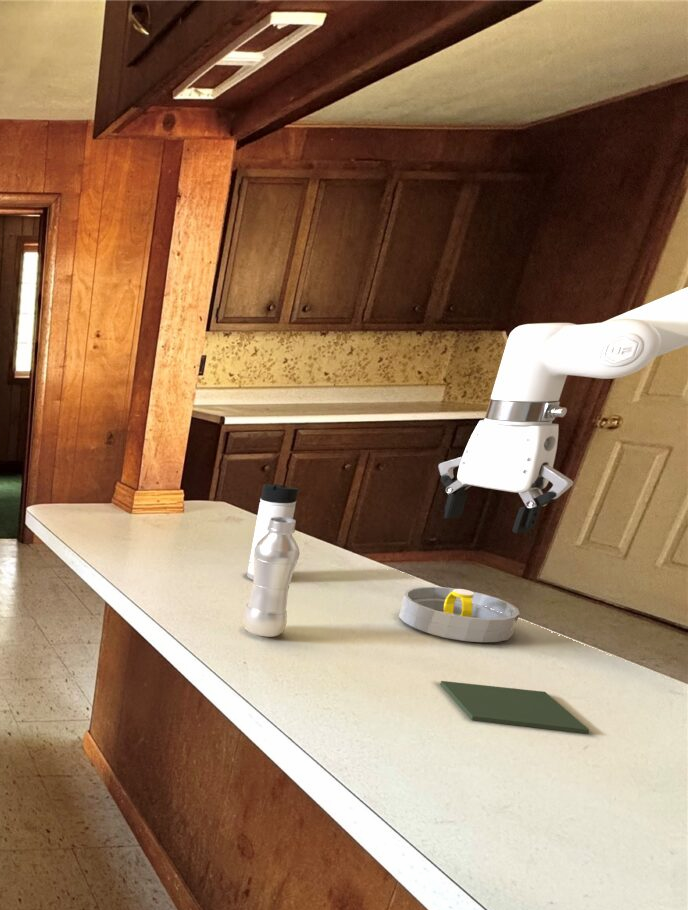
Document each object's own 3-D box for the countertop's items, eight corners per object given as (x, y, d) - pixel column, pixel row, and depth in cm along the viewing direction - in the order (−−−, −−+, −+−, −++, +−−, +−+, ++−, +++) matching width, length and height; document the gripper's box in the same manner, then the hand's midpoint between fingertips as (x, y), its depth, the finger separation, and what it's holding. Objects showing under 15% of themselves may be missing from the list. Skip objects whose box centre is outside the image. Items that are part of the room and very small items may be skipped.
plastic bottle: (261, 643, 109) (283, 527, 102) (231, 628, 116) (250, 517, 108) (292, 638, 111) (317, 523, 104) (261, 623, 117) (282, 513, 110)
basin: (484, 614, 118) (492, 590, 116) (529, 649, 104) (539, 623, 103) (385, 606, 122) (391, 583, 121) (416, 639, 109) (424, 614, 107)
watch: (435, 616, 116) (444, 584, 114) (453, 617, 115) (463, 585, 113) (451, 630, 111) (462, 597, 109) (471, 631, 110) (482, 598, 108)
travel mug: (238, 576, 139) (255, 482, 132) (260, 571, 142) (277, 478, 135) (265, 585, 134) (284, 488, 127) (287, 579, 137) (306, 484, 129)
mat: (543, 695, 92) (545, 691, 91) (587, 733, 83) (589, 729, 83) (439, 684, 95) (441, 680, 95) (471, 719, 87) (472, 716, 86)
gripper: (610, 416, 91) (567, 535, 98) (472, 406, 107) (443, 510, 113) (576, 420, 89) (534, 541, 96) (440, 409, 105) (412, 514, 111)
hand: (485, 524), depth 104 cm, fingers open, 9 cm apart
